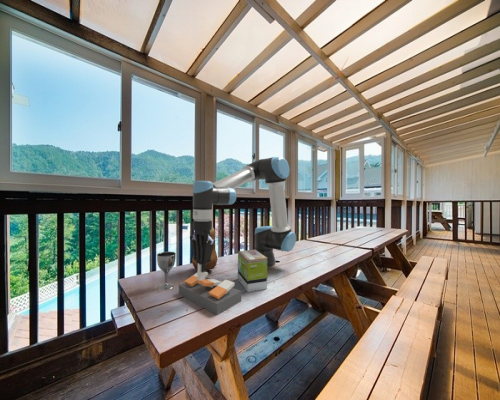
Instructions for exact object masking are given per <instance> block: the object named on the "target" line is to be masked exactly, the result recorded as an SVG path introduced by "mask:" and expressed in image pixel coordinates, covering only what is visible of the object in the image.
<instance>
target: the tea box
mask: <svg viewBox="0 0 500 400" xmlns="http://www.w3.org/2000/svg"><path fill="white" fill-rule="evenodd" d="M237 280H238V281H239V282H240V283H241V285H242V287H243V288H244V289H245V291H246V292H247V293H249V291H250V292H255V290H256V291H262V290H267V289H268V266H267V257H265V256H264V255H262V254H261V253H259V252H258V251H257V250H255V249H249V250H238V251H237Z"/></svg>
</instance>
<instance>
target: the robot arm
mask: <svg viewBox="0 0 500 400" xmlns="http://www.w3.org/2000/svg"><path fill="white" fill-rule="evenodd" d="M290 172H291V171H290V166H289V163H288V160H287V159H285V158H284V157H282V156H273V157H269V158H260V159H257V160H254V161H253V162H251V163H249V164H246V165H245V166H243V167H242V169H240V170H237V171H236V172H234V173H231V174H229V175H227V176H225V177H223V178H222V179H219V180H217V181H215V182H212V181H211V180H195V181H194V182H193V185H192V186H193V187H192V219H193V221H192V227H191V228H192V231H194V232H193V234H192V235H190V236H189V239H190V242H191V250H192V251H191V252H192V258H193V259H194V260H196V262H197V269H196V270H197V272H198V277H197V280H199V281H201V280H203V279H205V271H206V263H209V262H210V260H211V255H212V249H213V245H214V243H215V244H216V238H215V239H212V238H211V234H210V230H211V229H212V227H213V221H212V219H213V206H215V205H216V206H223V205H224V206H225V205H226V206H228V205H233V204H234V203H235V202H236V200H237V192H236V189H237V188H239V187H241V186H243V185H245V184H246V183H252V182H254V181H258V180H264V181H265V184H266V185H267V186H268V191H269V192H268V193H269V201H270V209H271V211H270V212H271V218H272V225H266V226H265V225H263V226H257V227H256V228H255V229H254V230H255V231H254V250H257V251H258V252H259V253H261V254H262V255H264V256H265V257H267V267H272V266H275V265H276V257H275V254H274V250H277V251H281V252H286V253H289V252H291V251H293V249H294V248H295V245H296V243H297V236H296V233H295V232H294V231H292V227H291V226H290V225H289V223H288V222H289V221H288V213H287V211H288V210H287V203H286V202H287V201H286V193H285V183H286V182H287V178H288V177H289V176H290Z"/></svg>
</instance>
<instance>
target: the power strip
mask: <svg viewBox="0 0 500 400" xmlns="http://www.w3.org/2000/svg"><path fill="white" fill-rule="evenodd" d="M205 279H211V278H209V277H208V276H207V277H205ZM203 280H204V279H203ZM217 286H218V285H217ZM215 287H216V286H213V287H209V286H203V285H201V284H199V283H197V284H195V285H194V286H189V285H187V284H185V282H183V283H180V284H178V295H179V296H181V297H183V298H185V299H187V300H188V301H191V302H192V303H194V304H196V305H197V306H200V307H201V308H203V309H204V310H207V311H208V312H210V313H212V314H214V315H215V316H218V315H220V314H222V313H223V312H225V311H227V310H228V309H230V308H232V307H234V306H235V305H237V304H240V303H241V302H242V291H241V290H239V289H238V288H235V287H232V288H231V289H230V290H229V291H228V292H227V293H226V294H224V295H223V296H222V297H221V298H220V299H217V298H215V297H212V296H210V295H209V292H210V291H211V290H213V289H214V288H215Z"/></svg>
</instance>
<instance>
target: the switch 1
mask: <svg viewBox="0 0 500 400" xmlns="http://www.w3.org/2000/svg"><path fill="white" fill-rule="evenodd" d="M208 276H209V272H208V271H207V272H205V277H207V278H208ZM197 277H198V271H197V272H195V273H194V274H192V275H191V276H190V277H188V278H186V279H185V280H184V281H183V283H185V284H187V285H189V286H194V285H195V284H197V281H198V280H197Z"/></svg>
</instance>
